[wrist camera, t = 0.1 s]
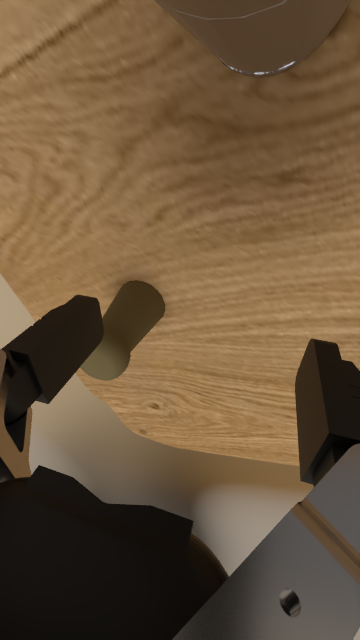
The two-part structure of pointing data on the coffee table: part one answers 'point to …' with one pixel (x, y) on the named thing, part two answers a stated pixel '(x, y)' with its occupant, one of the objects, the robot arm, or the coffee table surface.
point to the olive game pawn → (124, 329)
